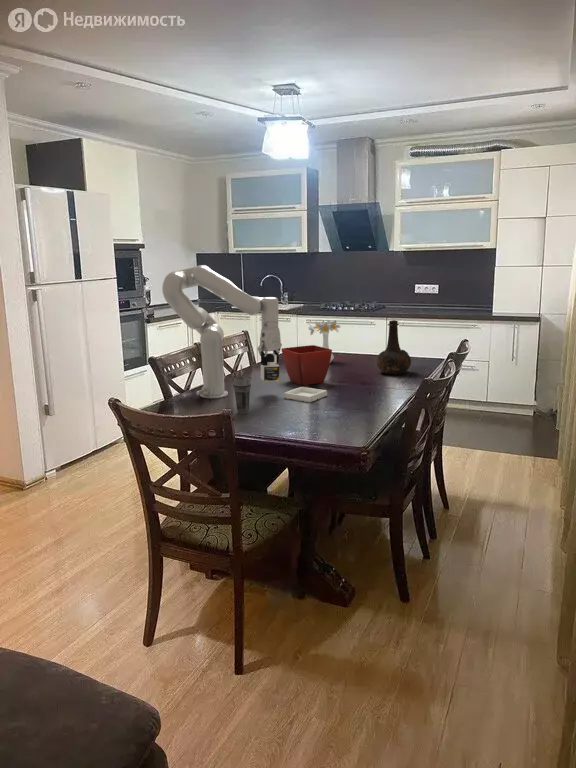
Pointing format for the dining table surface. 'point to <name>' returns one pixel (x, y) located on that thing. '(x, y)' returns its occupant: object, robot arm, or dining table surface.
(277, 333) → the robot arm
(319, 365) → the plant pot
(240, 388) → the beverage cup
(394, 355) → the glass bottle
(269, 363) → the medicine bottle
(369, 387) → the dining table surface
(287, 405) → the dining table surface
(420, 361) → the dining table surface
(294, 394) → the tray
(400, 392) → the dining table surface
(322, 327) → the flower vase
